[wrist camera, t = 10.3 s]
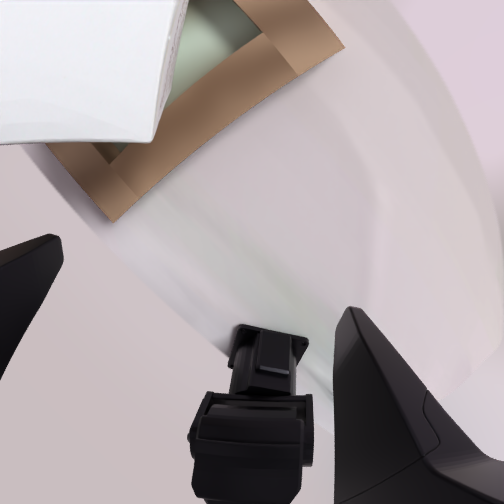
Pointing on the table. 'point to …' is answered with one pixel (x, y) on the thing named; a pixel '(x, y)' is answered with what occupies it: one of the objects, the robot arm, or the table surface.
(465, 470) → the robot arm
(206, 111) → the pocket board
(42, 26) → the supplement box
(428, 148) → the table surface
